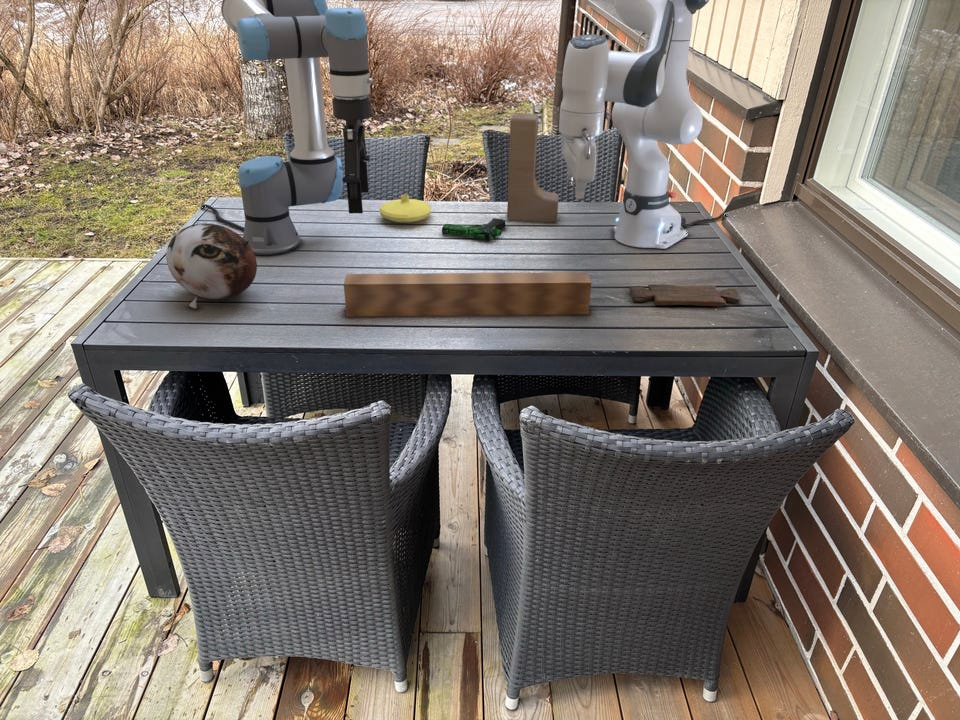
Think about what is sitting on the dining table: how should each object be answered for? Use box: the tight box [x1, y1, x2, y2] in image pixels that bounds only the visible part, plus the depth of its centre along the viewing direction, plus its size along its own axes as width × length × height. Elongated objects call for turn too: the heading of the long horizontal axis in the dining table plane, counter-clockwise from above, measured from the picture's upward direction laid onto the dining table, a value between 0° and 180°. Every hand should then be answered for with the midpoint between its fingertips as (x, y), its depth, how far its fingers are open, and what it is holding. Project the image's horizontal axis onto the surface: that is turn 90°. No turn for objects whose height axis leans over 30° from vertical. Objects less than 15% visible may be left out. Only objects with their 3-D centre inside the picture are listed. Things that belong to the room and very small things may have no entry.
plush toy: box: [165, 222, 258, 309], centre depth 165 cm, size 22×18×20 cm
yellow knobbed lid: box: [378, 194, 433, 224], centre depth 215 cm, size 16×16×7 cm
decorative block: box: [506, 112, 560, 223], centre depth 211 cm, size 8×15×30 cm, turn 82°
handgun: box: [441, 217, 506, 242], centre depth 207 cm, size 16×3×15 cm
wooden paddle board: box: [629, 284, 740, 307], centre depth 171 cm, size 26×2×10 cm
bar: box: [343, 271, 593, 318], centre depth 163 cm, size 55×6×8 cm, turn 93°
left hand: (359, 202), depth 150 cm, fingers open, 13 cm apart
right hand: (575, 190), depth 151 cm, fingers open, 8 cm apart
